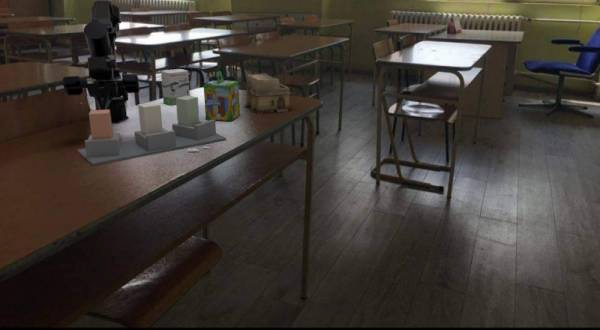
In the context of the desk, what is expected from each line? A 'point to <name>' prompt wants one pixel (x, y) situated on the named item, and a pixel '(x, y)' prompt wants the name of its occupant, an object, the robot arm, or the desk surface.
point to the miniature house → (266, 94)
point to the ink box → (174, 85)
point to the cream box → (150, 118)
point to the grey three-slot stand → (149, 143)
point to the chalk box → (221, 99)
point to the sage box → (187, 110)
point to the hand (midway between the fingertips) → (103, 111)
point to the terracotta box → (100, 124)
